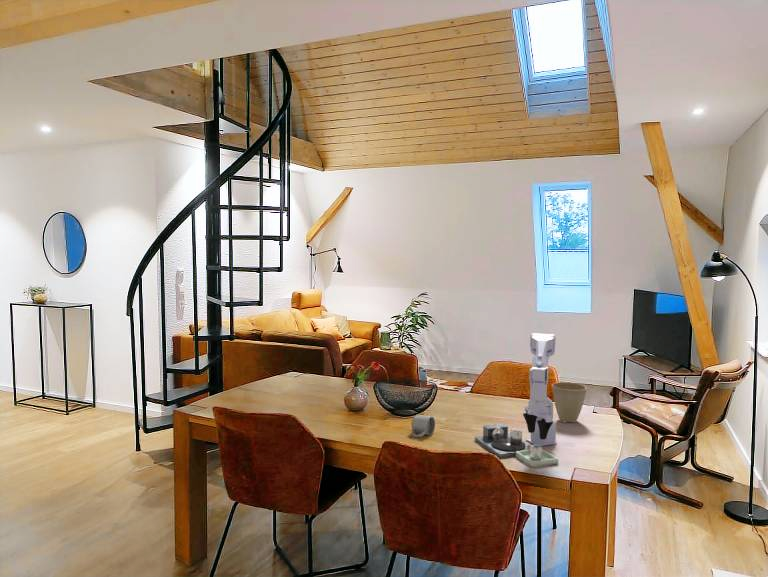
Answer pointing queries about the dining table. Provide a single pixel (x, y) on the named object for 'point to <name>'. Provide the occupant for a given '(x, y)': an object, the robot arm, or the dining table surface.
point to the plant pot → (568, 400)
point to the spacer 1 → (516, 436)
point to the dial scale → (500, 441)
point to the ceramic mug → (423, 425)
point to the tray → (546, 460)
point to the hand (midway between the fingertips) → (537, 435)
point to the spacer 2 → (535, 452)
